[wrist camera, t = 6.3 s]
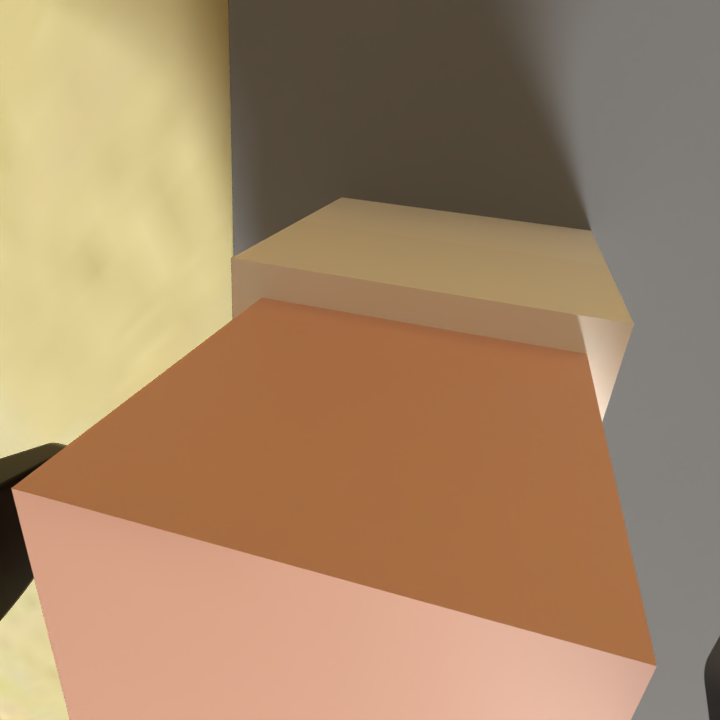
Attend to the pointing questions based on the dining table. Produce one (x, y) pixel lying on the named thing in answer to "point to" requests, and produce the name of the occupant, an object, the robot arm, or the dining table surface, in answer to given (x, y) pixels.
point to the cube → (342, 534)
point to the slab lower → (461, 229)
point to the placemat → (534, 211)
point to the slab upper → (443, 289)
